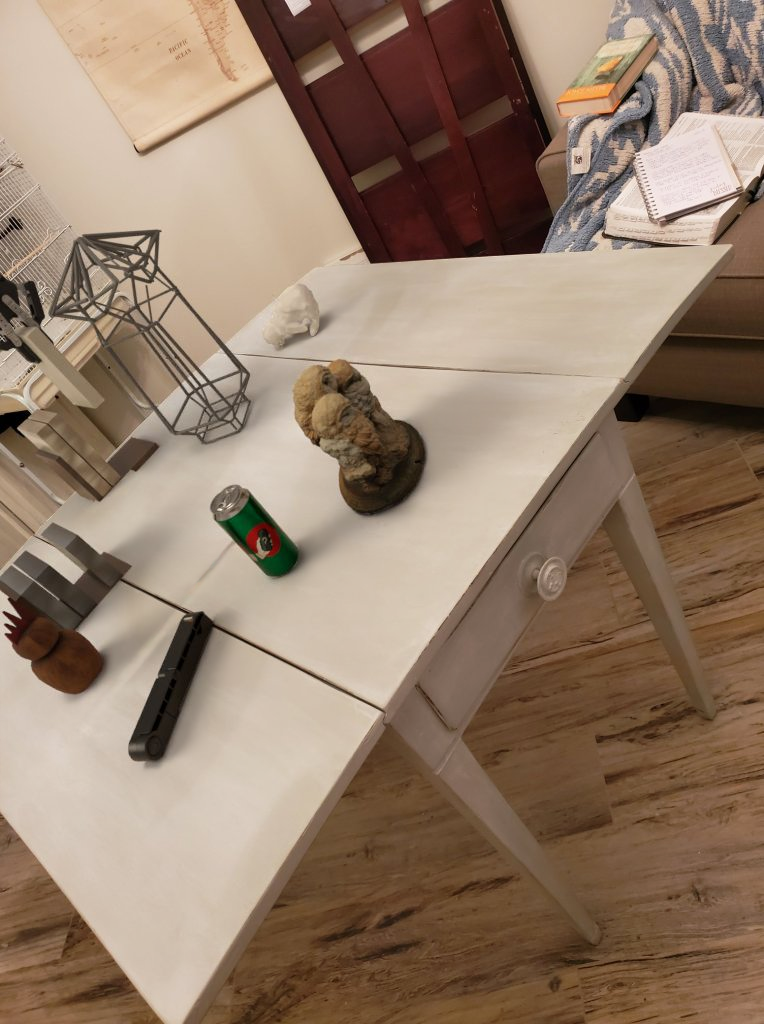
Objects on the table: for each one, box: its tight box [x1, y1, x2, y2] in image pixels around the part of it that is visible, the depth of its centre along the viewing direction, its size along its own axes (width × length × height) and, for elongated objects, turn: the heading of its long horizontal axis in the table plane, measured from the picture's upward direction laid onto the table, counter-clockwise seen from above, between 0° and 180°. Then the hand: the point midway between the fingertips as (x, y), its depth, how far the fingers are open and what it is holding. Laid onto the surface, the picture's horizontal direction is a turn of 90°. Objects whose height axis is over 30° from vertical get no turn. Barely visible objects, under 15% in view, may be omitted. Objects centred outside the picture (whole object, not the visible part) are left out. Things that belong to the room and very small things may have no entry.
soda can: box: [209, 484, 300, 578], centre depth 84 cm, size 5×5×12 cm
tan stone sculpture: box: [292, 358, 426, 515], centre depth 86 cm, size 18×12×17 cm, turn 5°
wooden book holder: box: [16, 408, 160, 503], centre depth 122 cm, size 14×10×16 cm
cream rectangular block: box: [13, 326, 105, 410], centre depth 117 cm, size 2×9×15 cm, turn 51°
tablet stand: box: [127, 610, 214, 763], centre depth 80 cm, size 18×3×3 cm, turn 168°
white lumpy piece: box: [261, 282, 320, 348], centre depth 127 cm, size 6×8×12 cm
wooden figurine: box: [1, 597, 105, 695], centre depth 86 cm, size 7×6×15 cm
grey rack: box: [0, 522, 133, 631], centre depth 101 cm, size 13×10×10 cm
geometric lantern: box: [47, 228, 252, 445], centre depth 110 cm, size 16×16×35 cm
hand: (44, 356), depth 115 cm, fingers closed on cream rectangular block, 2 cm apart
